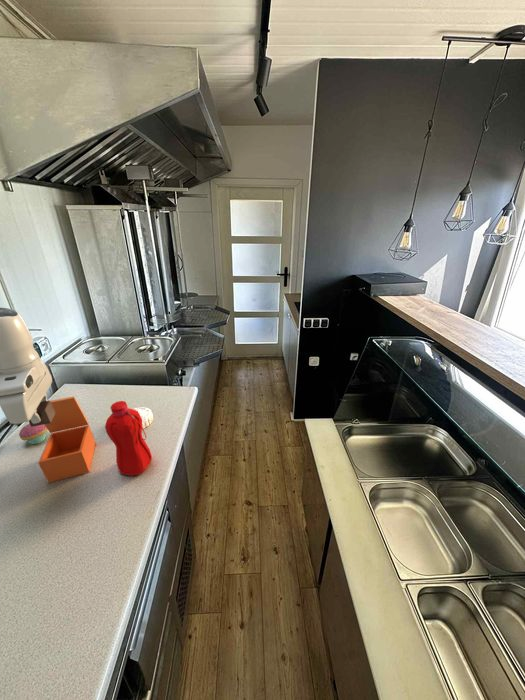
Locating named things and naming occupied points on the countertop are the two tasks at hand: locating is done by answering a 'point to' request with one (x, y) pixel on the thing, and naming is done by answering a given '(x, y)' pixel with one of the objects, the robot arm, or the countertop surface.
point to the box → (68, 453)
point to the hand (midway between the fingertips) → (41, 415)
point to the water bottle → (128, 439)
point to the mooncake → (145, 416)
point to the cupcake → (33, 433)
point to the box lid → (66, 415)
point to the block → (44, 413)
